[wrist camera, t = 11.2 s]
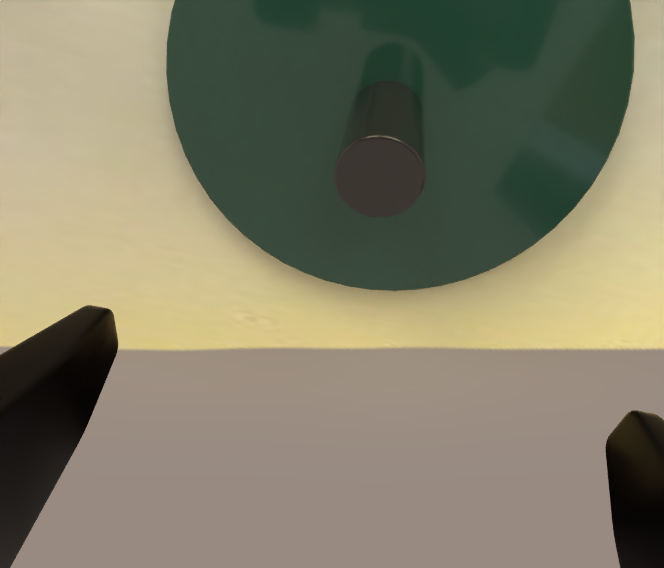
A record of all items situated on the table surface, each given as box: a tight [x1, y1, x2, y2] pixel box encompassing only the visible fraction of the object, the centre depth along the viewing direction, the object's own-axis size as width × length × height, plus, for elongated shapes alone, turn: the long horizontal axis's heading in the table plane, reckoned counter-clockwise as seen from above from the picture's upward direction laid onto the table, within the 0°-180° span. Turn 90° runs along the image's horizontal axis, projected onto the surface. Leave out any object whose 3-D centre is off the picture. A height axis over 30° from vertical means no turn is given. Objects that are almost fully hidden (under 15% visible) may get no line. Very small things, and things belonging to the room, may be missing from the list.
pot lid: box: [166, 0, 635, 291], centre depth 17 cm, size 16×16×6 cm
